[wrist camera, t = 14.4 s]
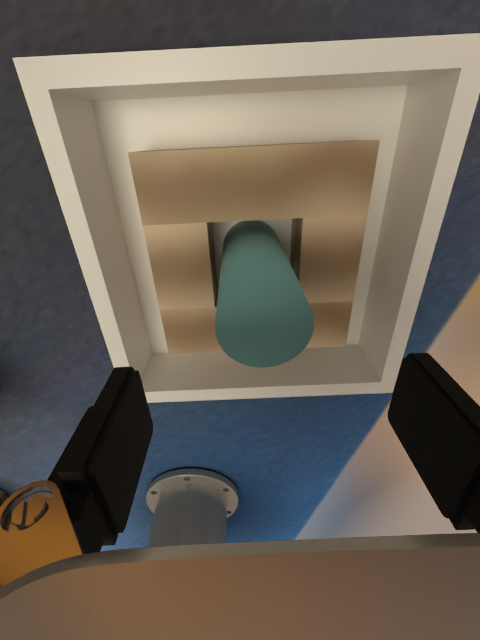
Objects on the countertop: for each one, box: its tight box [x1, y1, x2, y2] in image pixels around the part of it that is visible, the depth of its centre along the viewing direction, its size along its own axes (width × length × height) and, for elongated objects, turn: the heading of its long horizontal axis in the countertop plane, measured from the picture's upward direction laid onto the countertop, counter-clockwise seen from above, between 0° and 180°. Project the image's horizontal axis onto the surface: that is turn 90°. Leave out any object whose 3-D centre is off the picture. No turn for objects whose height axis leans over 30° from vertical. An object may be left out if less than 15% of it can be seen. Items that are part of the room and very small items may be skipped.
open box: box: [13, 33, 480, 403], centre depth 22 cm, size 22×22×6 cm
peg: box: [215, 220, 314, 368], centre depth 19 cm, size 4×4×12 cm
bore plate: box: [128, 140, 380, 354], centre depth 22 cm, size 14×14×4 cm
